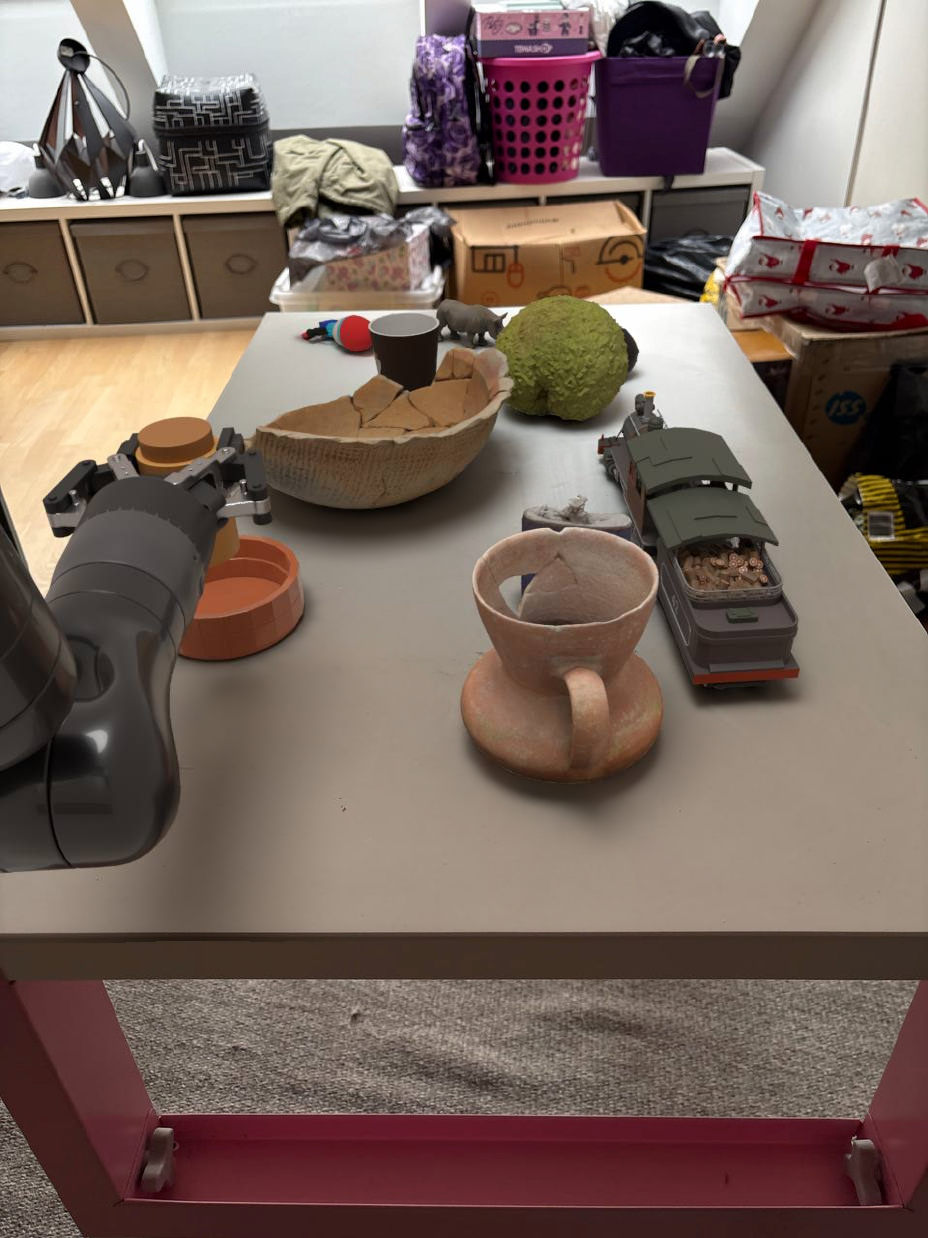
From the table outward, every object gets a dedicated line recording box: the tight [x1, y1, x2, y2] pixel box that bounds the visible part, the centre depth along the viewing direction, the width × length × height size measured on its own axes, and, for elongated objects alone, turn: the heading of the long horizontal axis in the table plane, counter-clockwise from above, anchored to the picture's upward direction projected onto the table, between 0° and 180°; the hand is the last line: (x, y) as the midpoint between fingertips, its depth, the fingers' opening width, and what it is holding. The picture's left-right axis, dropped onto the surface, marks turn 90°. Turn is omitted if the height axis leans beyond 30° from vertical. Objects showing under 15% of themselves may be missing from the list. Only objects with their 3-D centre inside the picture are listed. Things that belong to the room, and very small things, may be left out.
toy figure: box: [300, 314, 372, 352], centre depth 139 cm, size 8×5×15 cm
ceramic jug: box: [459, 527, 665, 785], centre depth 66 cm, size 18×14×14 cm
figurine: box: [621, 327, 640, 375], centre depth 130 cm, size 8×7×18 cm
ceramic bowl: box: [243, 346, 515, 510], centre depth 100 cm, size 30×27×15 cm
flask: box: [520, 494, 634, 598], centre depth 81 cm, size 9×3×11 cm, turn 78°
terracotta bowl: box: [178, 534, 305, 661], centre depth 83 cm, size 13×13×4 cm
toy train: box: [597, 390, 801, 690], centre depth 88 cm, size 45×9×11 cm, turn 3°
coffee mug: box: [368, 312, 439, 392], centre depth 120 cm, size 12×9×10 cm
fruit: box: [494, 294, 629, 422], centre depth 114 cm, size 16×14×15 cm
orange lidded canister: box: [135, 416, 240, 568], centre depth 67 cm, size 6×6×9 cm
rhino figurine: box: [435, 298, 509, 350], centre depth 136 cm, size 4×14×6 cm, turn 54°
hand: (186, 442), depth 67 cm, fingers closed on orange lidded canister, 5 cm apart
